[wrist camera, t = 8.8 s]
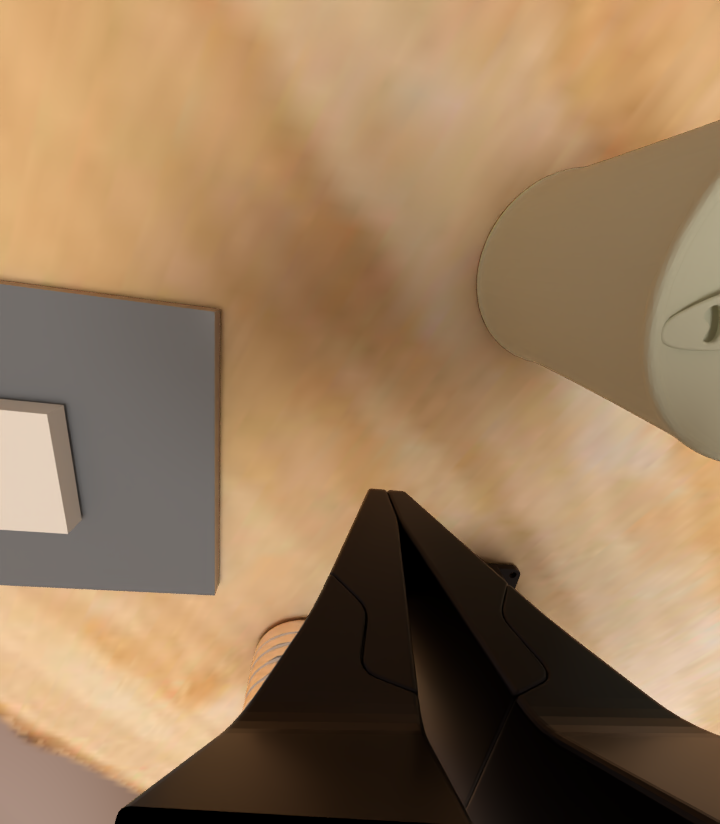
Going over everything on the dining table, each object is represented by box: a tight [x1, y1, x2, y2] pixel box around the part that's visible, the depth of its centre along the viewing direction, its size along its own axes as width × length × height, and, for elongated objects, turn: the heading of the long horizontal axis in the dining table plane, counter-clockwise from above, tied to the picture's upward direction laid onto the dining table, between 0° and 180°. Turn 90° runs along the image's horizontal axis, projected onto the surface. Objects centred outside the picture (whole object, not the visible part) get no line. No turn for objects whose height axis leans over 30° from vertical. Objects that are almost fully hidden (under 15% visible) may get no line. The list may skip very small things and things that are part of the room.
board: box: [0, 280, 220, 595], centre depth 21 cm, size 18×16×1 cm
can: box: [477, 120, 720, 461], centre depth 14 cm, size 9×9×12 cm
